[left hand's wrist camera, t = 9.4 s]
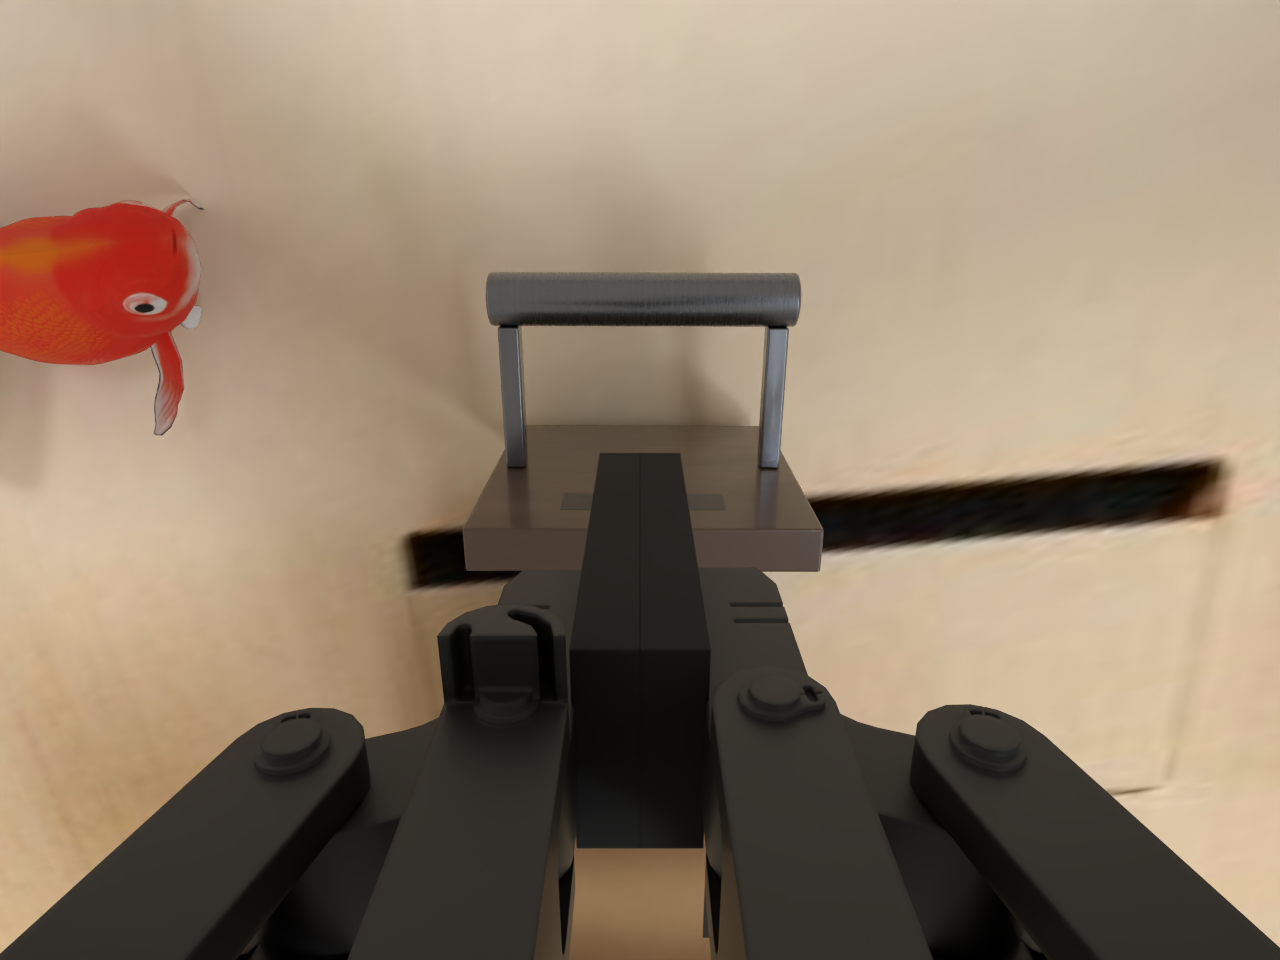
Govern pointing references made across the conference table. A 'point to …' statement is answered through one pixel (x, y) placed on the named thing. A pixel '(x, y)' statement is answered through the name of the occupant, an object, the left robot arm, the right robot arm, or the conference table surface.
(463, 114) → the conference table surface
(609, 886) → the cabinet
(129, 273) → the fish
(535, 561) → the drawer
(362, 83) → the conference table surface
